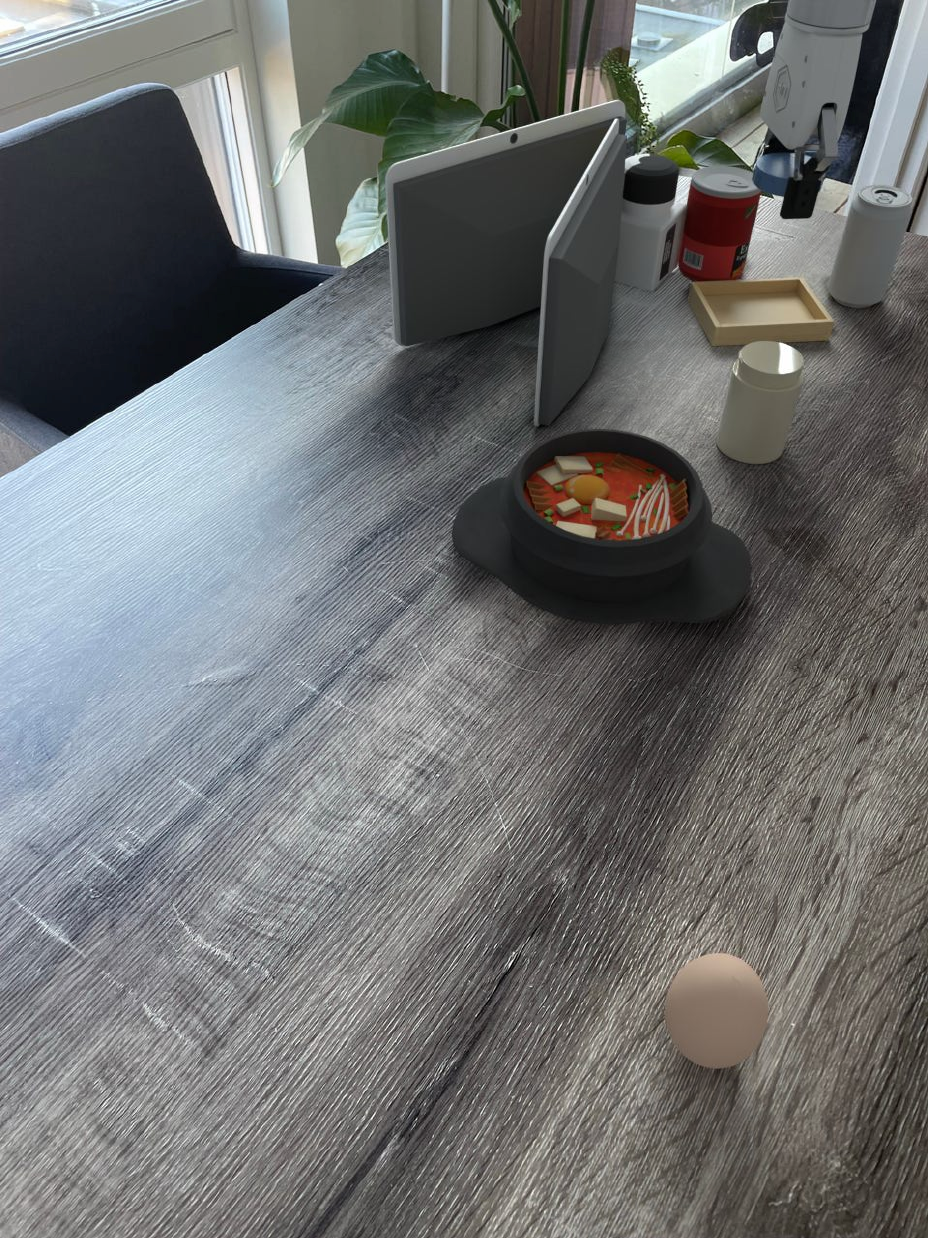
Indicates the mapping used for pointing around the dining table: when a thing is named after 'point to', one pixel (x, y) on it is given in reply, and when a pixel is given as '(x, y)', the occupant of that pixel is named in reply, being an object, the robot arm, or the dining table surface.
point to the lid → (775, 172)
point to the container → (649, 222)
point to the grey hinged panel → (514, 240)
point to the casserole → (605, 533)
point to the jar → (760, 402)
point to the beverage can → (870, 245)
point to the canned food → (718, 223)
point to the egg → (716, 1010)
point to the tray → (759, 311)
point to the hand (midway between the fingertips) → (783, 200)
